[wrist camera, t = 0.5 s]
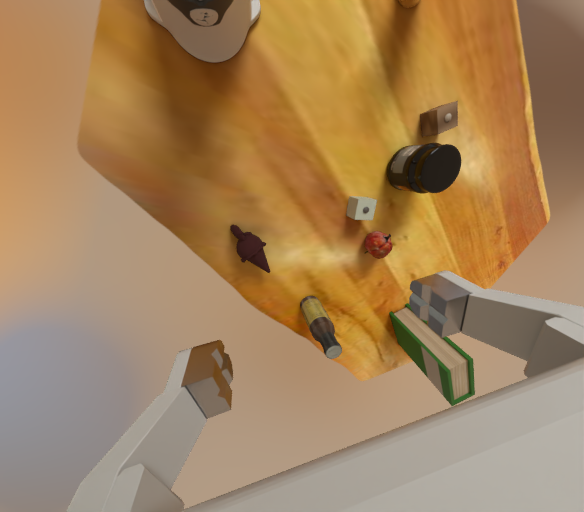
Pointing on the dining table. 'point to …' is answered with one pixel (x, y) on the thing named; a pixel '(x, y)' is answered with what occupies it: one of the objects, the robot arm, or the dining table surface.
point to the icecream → (250, 248)
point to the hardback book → (435, 356)
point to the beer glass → (408, 3)
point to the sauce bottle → (320, 326)
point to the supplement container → (424, 168)
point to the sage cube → (361, 208)
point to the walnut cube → (439, 119)
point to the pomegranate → (378, 244)
